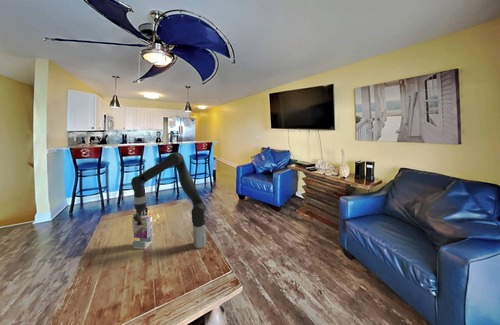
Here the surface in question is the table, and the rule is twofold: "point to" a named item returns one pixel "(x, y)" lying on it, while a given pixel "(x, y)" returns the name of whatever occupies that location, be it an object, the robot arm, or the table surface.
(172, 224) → the table surface
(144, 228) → the candy bar box
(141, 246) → the slotted rack
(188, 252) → the table surface
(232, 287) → the table surface
